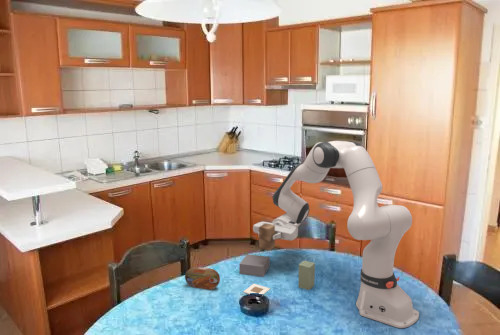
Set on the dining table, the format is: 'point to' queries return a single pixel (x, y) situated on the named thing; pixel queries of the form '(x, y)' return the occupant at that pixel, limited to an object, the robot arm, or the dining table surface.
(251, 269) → the base block
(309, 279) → the olive block
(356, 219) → the robot arm
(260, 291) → the card
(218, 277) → the tin
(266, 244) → the walnut block
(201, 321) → the dining table surface
